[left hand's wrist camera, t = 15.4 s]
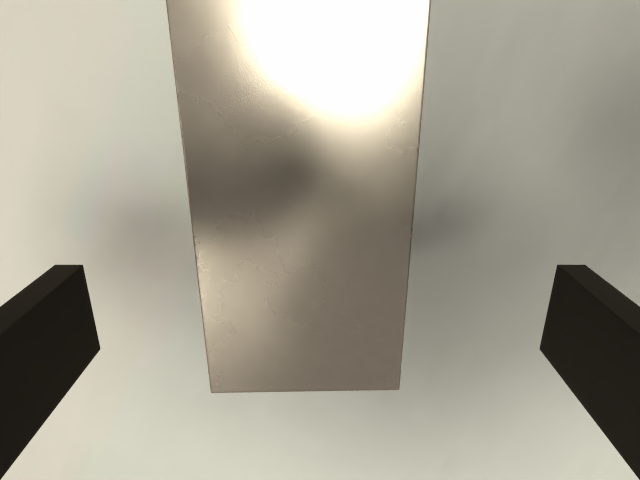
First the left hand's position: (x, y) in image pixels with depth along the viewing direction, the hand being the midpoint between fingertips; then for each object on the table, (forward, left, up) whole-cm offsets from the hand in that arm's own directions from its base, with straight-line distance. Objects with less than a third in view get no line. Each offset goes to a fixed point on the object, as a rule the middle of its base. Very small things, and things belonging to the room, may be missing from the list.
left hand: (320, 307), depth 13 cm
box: (+11, -3, -9) cm, 14 cm away
